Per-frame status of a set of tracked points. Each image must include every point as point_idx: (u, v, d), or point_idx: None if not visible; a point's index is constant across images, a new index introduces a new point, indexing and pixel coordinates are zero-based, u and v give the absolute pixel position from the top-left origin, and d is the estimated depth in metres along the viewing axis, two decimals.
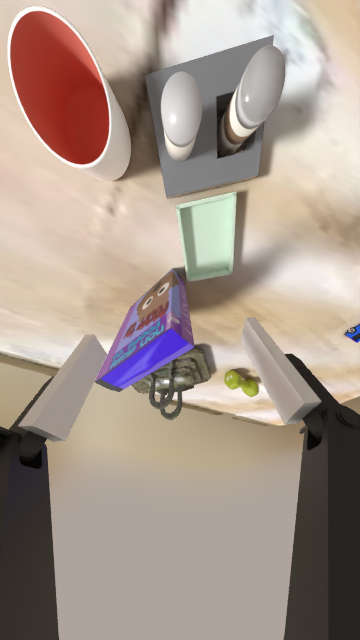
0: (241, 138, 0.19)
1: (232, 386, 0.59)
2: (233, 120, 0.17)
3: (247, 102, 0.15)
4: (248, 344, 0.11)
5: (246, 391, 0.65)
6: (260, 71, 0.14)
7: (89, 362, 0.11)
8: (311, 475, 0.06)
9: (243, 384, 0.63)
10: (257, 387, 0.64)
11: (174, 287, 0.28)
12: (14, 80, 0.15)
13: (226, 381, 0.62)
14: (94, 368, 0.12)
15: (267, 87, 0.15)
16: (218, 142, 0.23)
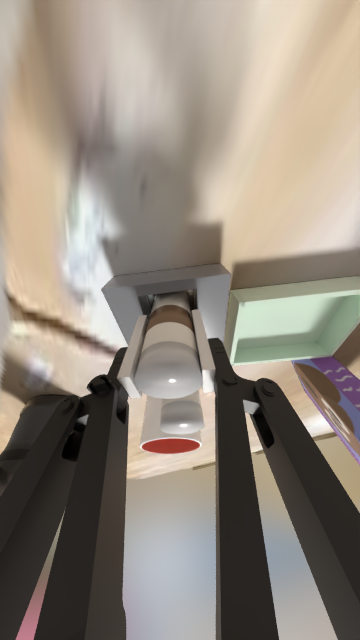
0: None
1: None
2: None
3: (181, 392, 0.10)
4: None
5: None
6: (155, 386, 0.09)
7: None
8: (216, 437, 0.07)
9: None
10: None
11: (355, 424, 0.17)
12: (163, 452, 0.25)
13: None
14: None
15: (169, 378, 0.09)
16: None
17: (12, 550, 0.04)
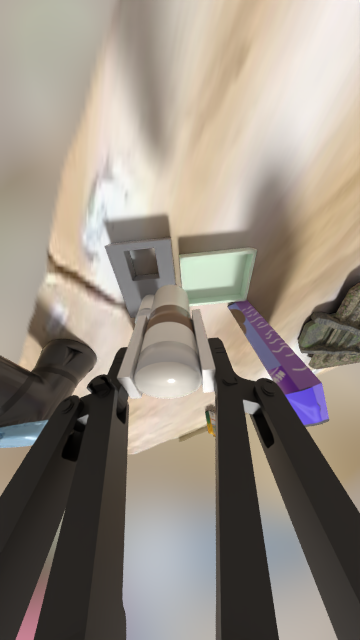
0: None
1: None
2: None
3: (181, 392, 0.10)
4: None
5: None
6: (155, 386, 0.09)
7: None
8: (216, 437, 0.07)
9: None
10: None
11: (247, 330, 0.30)
12: None
13: None
14: None
15: (168, 377, 0.09)
16: None
17: (12, 550, 0.04)
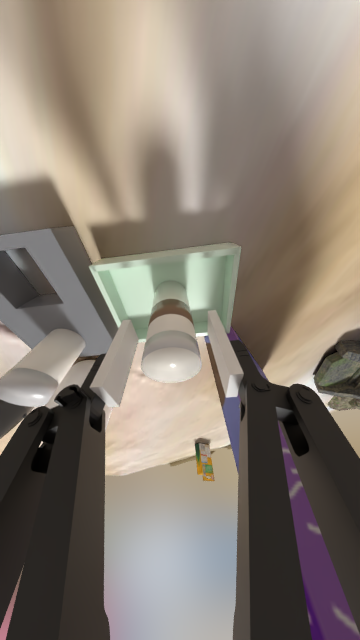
0: None
1: None
2: None
3: (183, 376, 0.11)
4: (210, 334, 0.13)
5: None
6: (160, 371, 0.11)
7: (129, 343, 0.12)
8: (242, 442, 0.07)
9: None
10: None
11: (227, 397, 0.16)
12: None
13: None
14: (132, 349, 0.13)
15: (171, 362, 0.10)
16: None
17: None
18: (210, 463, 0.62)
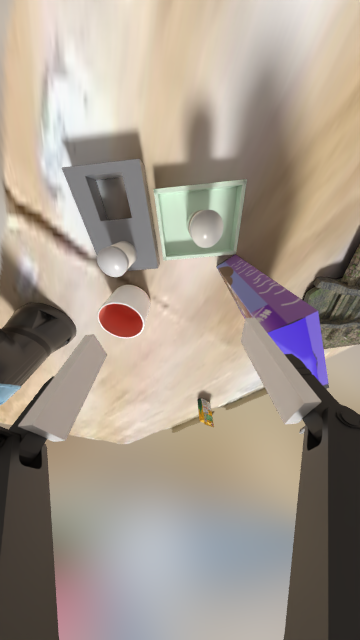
0: None
1: None
2: None
3: (211, 241, 0.20)
4: (248, 344, 0.11)
5: None
6: (200, 233, 0.20)
7: (89, 362, 0.11)
8: (311, 475, 0.06)
9: None
10: None
11: (233, 281, 0.25)
12: (118, 336, 0.34)
13: None
14: (94, 368, 0.12)
15: (207, 225, 0.19)
16: None
17: None
18: (210, 414, 0.72)
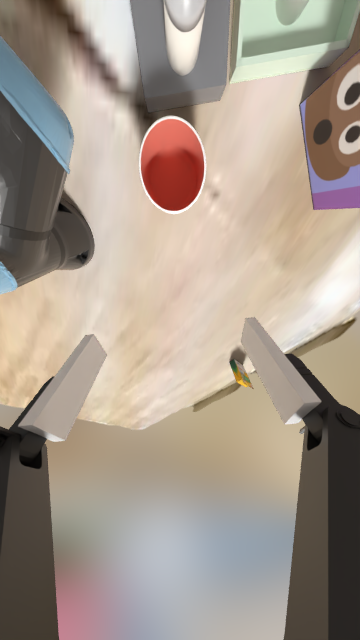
0: None
1: None
2: None
3: None
4: (248, 344, 0.11)
5: None
6: None
7: (89, 362, 0.11)
8: (311, 475, 0.06)
9: None
10: None
11: None
12: (164, 209, 0.24)
13: None
14: (94, 368, 0.12)
15: None
16: (301, 11, 0.18)
17: None
18: (247, 376, 0.61)
